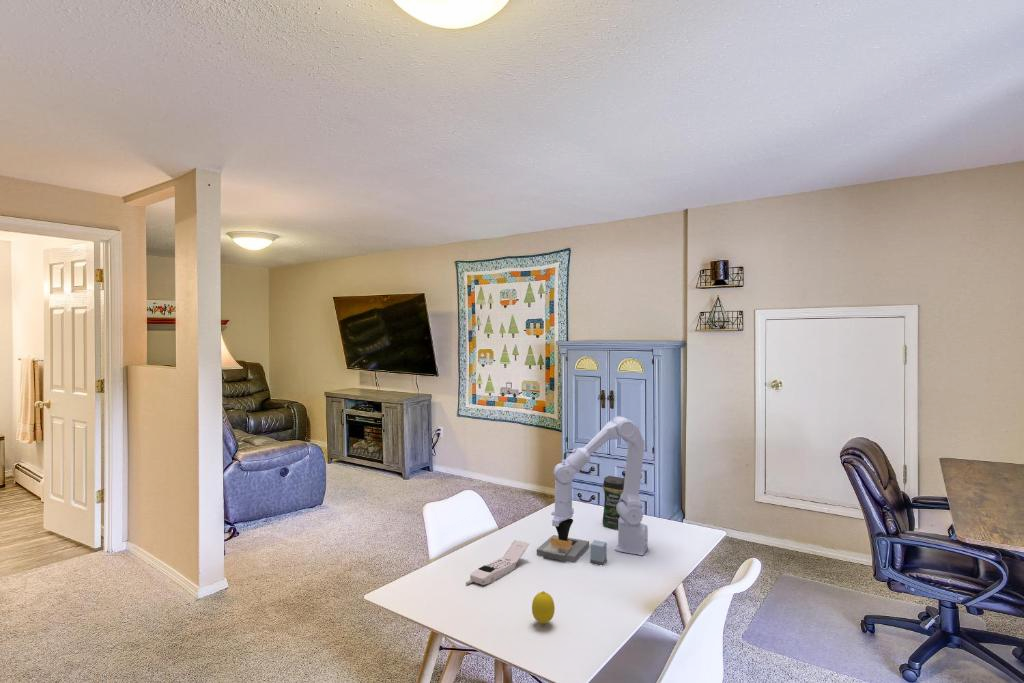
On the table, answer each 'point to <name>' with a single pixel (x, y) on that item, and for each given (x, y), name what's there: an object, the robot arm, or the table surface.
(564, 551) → the panel
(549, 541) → the socket far rim
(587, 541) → the socket front rim
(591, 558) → the plug
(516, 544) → the mobile phone
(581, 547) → the socket near rim
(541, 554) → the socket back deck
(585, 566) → the table surface
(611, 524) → the coffee jar
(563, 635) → the table surface
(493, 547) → the table surface
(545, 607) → the lemon
